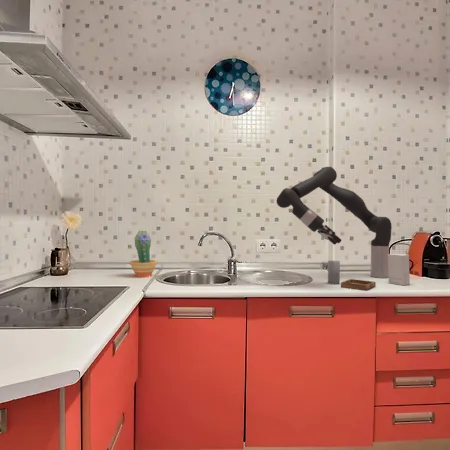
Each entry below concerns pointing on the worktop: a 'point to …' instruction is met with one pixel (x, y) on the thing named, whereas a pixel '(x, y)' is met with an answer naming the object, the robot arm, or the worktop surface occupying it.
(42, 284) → the worktop surface
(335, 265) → the grey upright block
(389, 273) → the skincare box
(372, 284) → the tray
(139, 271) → the potted cactus
